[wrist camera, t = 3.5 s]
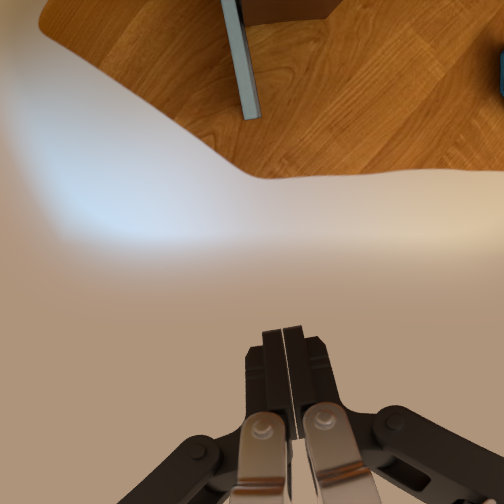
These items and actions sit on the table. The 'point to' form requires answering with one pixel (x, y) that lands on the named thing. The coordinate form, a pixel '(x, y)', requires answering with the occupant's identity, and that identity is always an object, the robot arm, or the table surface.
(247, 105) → the sliding door
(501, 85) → the crystal
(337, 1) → the cabinet
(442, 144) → the table surface
